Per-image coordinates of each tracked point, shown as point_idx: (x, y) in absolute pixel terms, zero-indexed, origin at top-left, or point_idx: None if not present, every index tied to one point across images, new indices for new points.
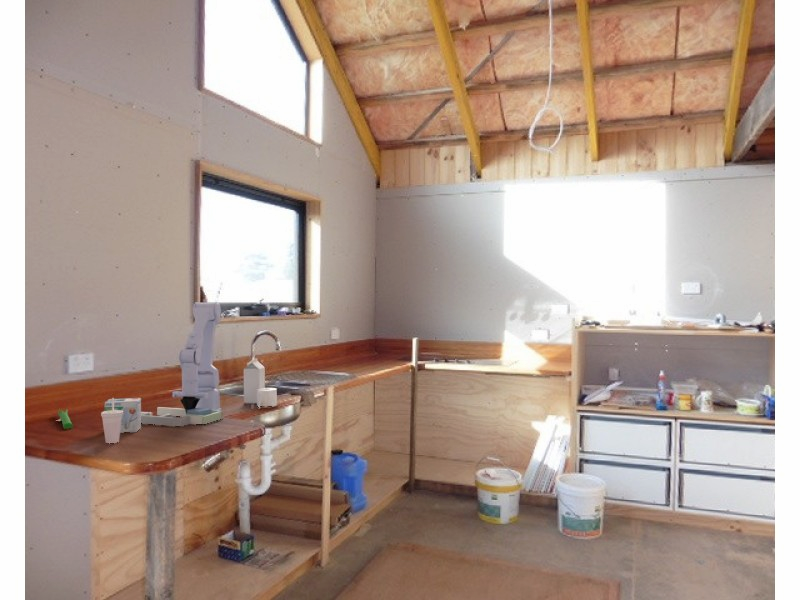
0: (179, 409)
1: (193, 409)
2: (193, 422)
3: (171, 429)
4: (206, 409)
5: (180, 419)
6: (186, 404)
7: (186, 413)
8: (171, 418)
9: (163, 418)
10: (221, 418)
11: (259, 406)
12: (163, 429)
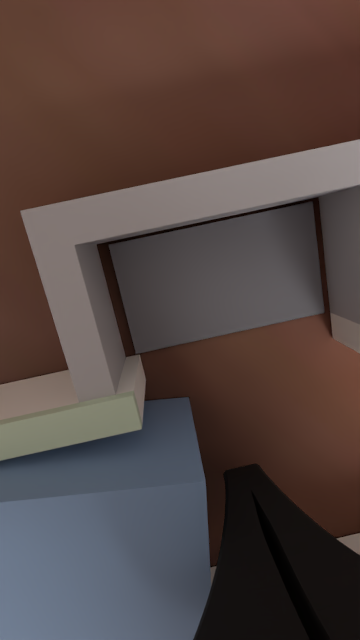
0: None
1: (167, 556)
2: (50, 379)
3: (37, 71)
4: (4, 638)
5: (32, 211)
6: (301, 591)
7: (271, 486)
8: (187, 178)
9: (320, 149)
10: None
11: None
12: (120, 21)
